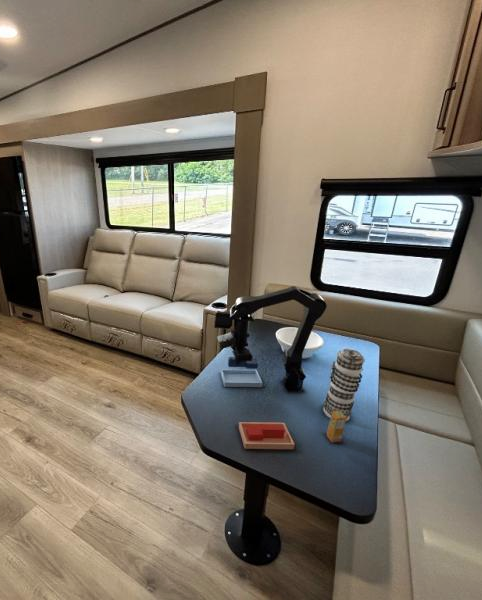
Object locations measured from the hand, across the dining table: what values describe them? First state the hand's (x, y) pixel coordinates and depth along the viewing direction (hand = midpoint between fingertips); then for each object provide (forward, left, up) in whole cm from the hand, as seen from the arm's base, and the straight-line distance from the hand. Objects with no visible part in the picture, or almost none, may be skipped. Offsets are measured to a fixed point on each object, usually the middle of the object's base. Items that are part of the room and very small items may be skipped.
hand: (237, 363), depth 128 cm
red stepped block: (-3, +31, -8) cm, 32 cm away
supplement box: (-25, +31, -8) cm, 41 cm away
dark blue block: (-2, 0, -1) cm, 2 cm away
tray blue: (-2, 0, -8) cm, 8 cm away
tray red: (-3, +31, -8) cm, 32 cm away
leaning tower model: (-32, +19, -8) cm, 38 cm away
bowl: (-34, -23, -8) cm, 42 cm away
